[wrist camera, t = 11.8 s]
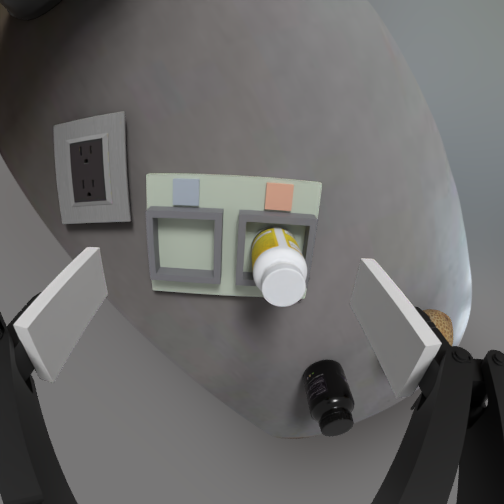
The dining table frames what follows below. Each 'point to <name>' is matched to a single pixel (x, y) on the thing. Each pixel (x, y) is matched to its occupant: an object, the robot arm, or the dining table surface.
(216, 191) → the tag board
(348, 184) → the dining table surface
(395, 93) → the dining table surface
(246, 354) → the dining table surface
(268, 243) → the supplement bottle
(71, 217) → the electrical outlet
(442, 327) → the natural sponge
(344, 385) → the supplement bottle
